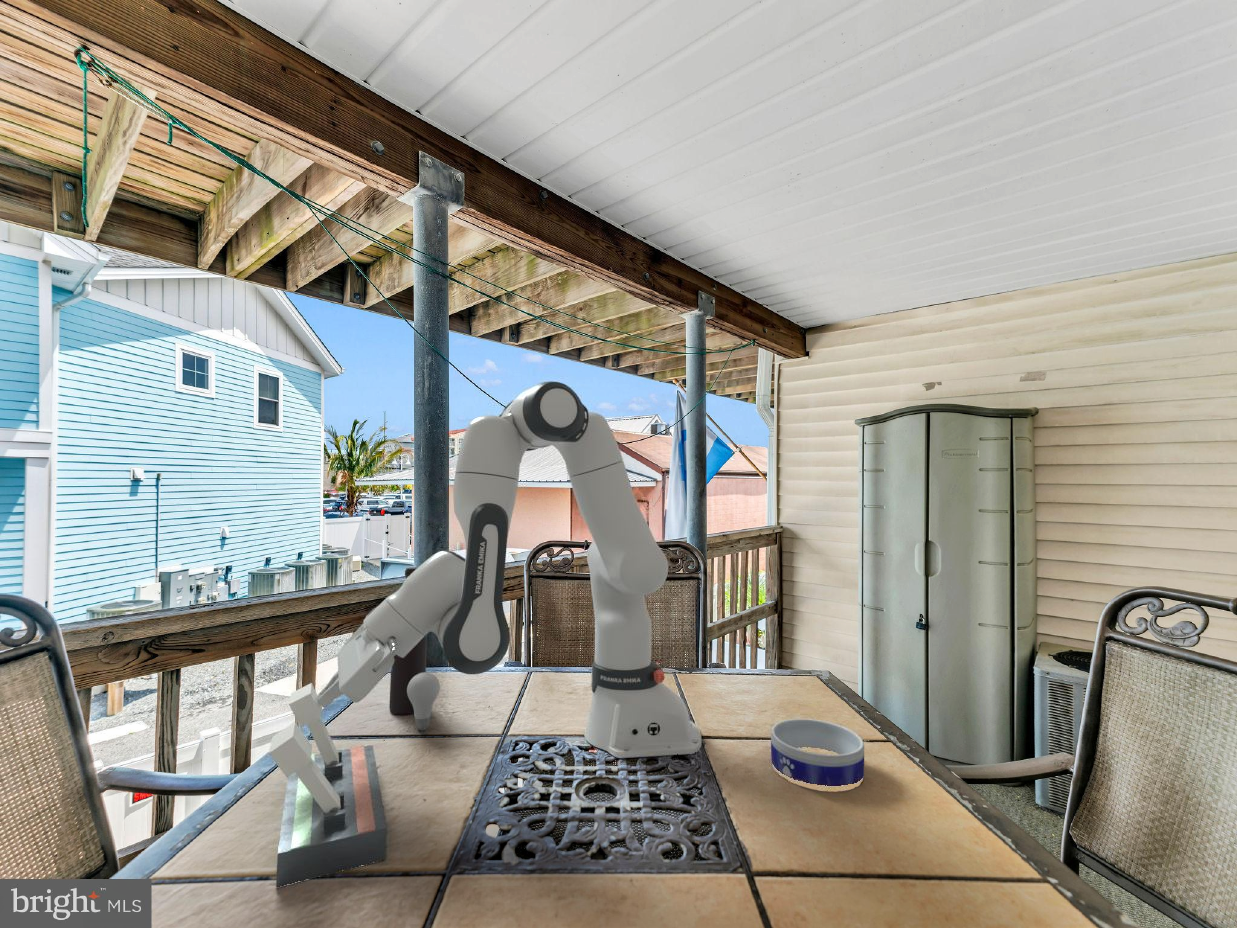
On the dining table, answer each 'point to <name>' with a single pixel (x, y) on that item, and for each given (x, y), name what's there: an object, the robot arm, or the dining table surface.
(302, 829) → the breaker box
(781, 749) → the dog bowl
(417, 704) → the lightbulb
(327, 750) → the lever
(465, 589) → the robot arm
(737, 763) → the dining table surface
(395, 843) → the dining table surface
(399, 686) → the wine bottle
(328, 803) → the on lever
